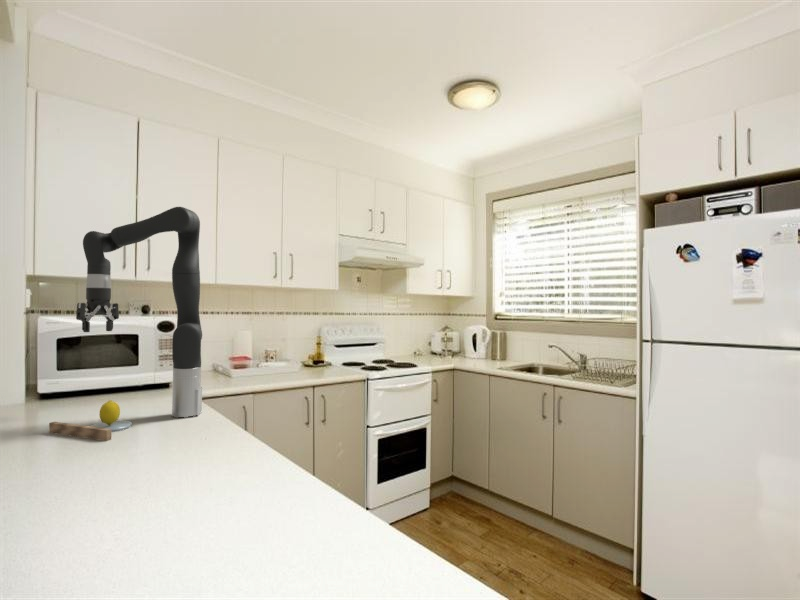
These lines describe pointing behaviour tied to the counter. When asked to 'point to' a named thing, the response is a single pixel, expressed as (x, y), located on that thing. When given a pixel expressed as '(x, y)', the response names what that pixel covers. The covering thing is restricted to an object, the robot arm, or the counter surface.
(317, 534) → the counter surface
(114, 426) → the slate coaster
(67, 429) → the walnut wall
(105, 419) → the lemon
